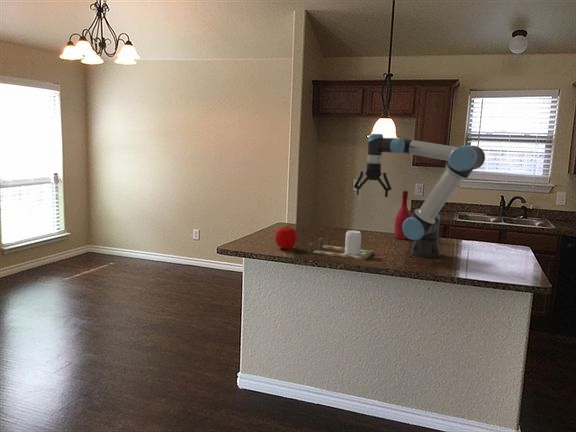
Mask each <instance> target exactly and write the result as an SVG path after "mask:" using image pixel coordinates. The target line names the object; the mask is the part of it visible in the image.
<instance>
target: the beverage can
mask: <svg viewBox="0 0 576 432" xmlns="http://www.w3.org/2000/svg"><path fill="white" fill-rule="evenodd" d="M344 241H345V244H344V248H345V251H344V253H346V254H348V255H358V254H360V250H362V248H361V247H362V246H361V245H362V244H361V243H362V233H361V231H359V230H352V229H351V230H349V229H348V230H347V231H346V233H345V240H344Z"/></svg>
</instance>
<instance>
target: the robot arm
mask: <svg viewBox="0 0 576 432" xmlns="http://www.w3.org/2000/svg"><path fill="white" fill-rule="evenodd" d="M367 144H368V145H367V156H366V158H367V159H366V160H367V161H366V162H367V163H366V171H362V170H361V171H360V175H359V176H358V178H357V180H356V181H355V184H354V186H353V188H355V189H356V194H357V195H358V198H357V199H358V202H362V201H361V200H362V187H363V186H364V185H365V184H366V183H367V182H368V181H369V180H370V181H377V182H378V183H379V184H380V186H381V187H382V188H383V197H382V198H383V199H382V203H383V204H385V203H386V200H387V199H386V198H387V197H388V195H389V191H391V190H392V186H391V184H390V181H389V178H388V177H387V174H388V173H387V172H382V171H381V170H382V157H383V156H382V154H383V153H390V154H391V153H393V154H401V153H402V154H407V155H414V156H419V157H426V158H429V159H436V160H442V161H446V164H445V171H444V173H443V174H442V176H441V177H440V179H439V180H438V181H437V183H436V184H435V186H434V187H433V188H432V190H431V192H430V193H429V194H428V196H427V197H426V199H425V200H424V201H423V203H422V205H421V206H420V208H416V209H414V211H413V212H412V214H410V218H407V219H406V220H405V221H404V222H403V225H402V229H403V233H404V235H405V236H406V237H407V238H409V239H408V240H411V241H414V242H413V244H412V247H411V251H410V253H411V254H412V255H413V256H416V257H420V258H439V257H441V249H440V248H441V247H440V245H439V235H440V234H439V233H440V223H441V215H440V214H439V212H440V211H441V209H442V208H443V207H444V205H445V204H446V202H447V201H448V200H449V199H450V197H451V195H452V194H453V192H455V190H456V189H457V187H458V185H460V183H461V182H462V180H465V179H466V180H467V178H469V176H470V174H471V173H472V172H473V170H474V171H475V170H477V169H480V168H481V167H482V166H483V165H484V163H485V161H486V155H485V151H484V150H483V148H481V147H480V146H477V145H467V144H466V145H465V144H462V145H460V146H453V145H446V144H440V143H433V142H427V141H423V140H421V141H420V140H415V139H409V138H399V137H384V135H383V134H382V133H370V134H369V135H368V141H367ZM365 175H366V177H365V178H364V180H363V181H362V182H361V180H362V179H363V177H364V176H365ZM381 176H382V177H383V179H384V182H385V183H384V182H383V180H382V178H381ZM357 195H356V196H357Z"/></svg>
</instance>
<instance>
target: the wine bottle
mask: <svg viewBox="0 0 576 432" xmlns="http://www.w3.org/2000/svg"><path fill="white" fill-rule="evenodd" d="M408 194H409V191H408V190H403V191H402V196H401V198H402V202H401V206H400V208H399V210H398V212H397V213H396V216H395V219H394V230H393V231H394V235H393V236H394V237H393V238H395V239H397V240H410V239H409V238H407V237H406V236H405V235H404V233H403V229H402V225H403V222H404V221H405V220H406V219H407V218H410V217H411V214H410V211H409V207H408V202H407V201H408V198H409V197H408V196H409V195H408Z"/></svg>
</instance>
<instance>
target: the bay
mask: <svg viewBox="0 0 576 432" xmlns="http://www.w3.org/2000/svg"><path fill="white" fill-rule="evenodd" d="M324 240H325V239H324V238H322V237H319V239H318V242H319V243H318V248H319V247H320V248H319V249H321V248H322V249H327V250H328V249H330V250H337V251H343V253H338V252H331V251H323V250H315V243H314V242H310V243H309V254H315V253H317V254H318V255H323V254H324V256H331V257H340V258H345V257H346V258H347V259H354V260H362V261H366V260H367V259H368V258H369V257H371V255H372V254H373V251H374V250H373V249H369V250H366V249H360V254H358V255H348V254H346V253H345V247H341V246H335V245H334V246H333V245H326V244H324ZM317 254H316V255H317Z"/></svg>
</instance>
